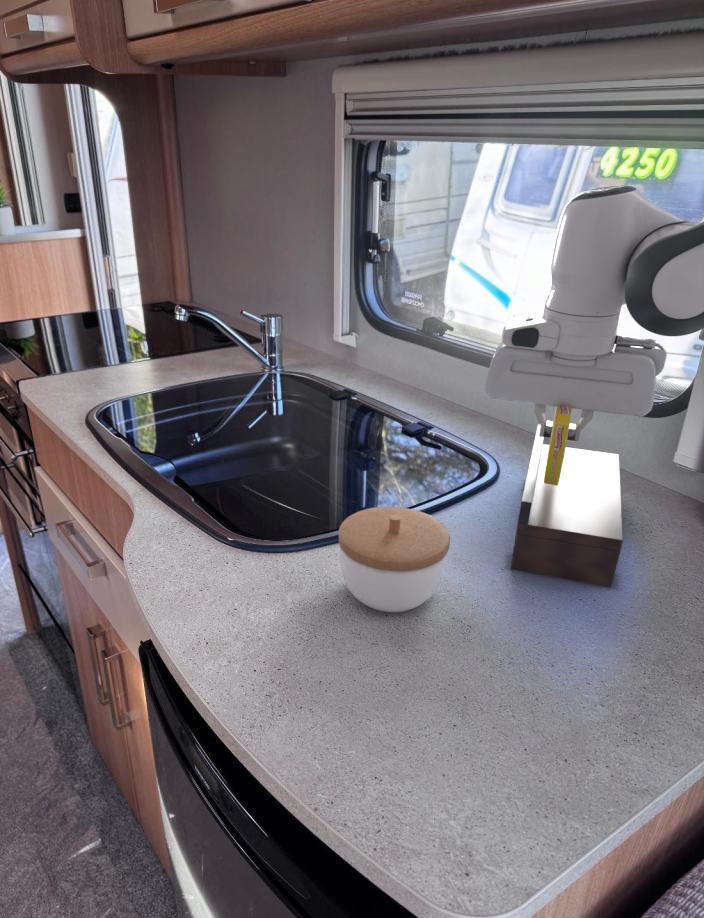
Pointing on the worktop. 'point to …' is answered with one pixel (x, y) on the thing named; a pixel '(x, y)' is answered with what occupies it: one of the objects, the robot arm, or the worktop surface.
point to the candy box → (557, 444)
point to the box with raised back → (571, 517)
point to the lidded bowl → (392, 557)
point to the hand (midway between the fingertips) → (558, 437)
